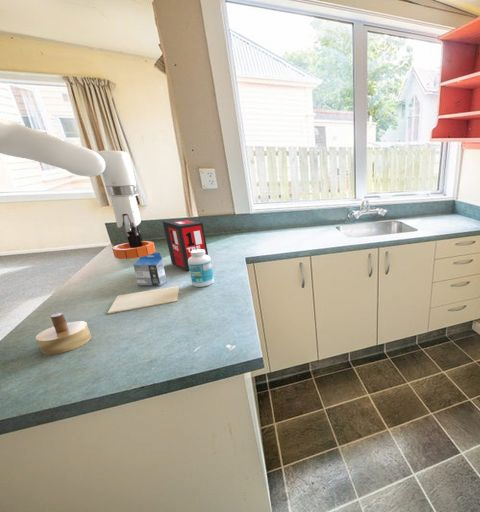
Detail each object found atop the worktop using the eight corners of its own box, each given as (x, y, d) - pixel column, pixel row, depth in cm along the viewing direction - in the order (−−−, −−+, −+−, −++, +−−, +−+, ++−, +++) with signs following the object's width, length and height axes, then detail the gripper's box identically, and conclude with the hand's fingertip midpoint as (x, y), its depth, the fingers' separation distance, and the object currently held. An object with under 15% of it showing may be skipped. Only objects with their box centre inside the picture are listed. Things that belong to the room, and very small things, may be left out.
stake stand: (33, 359, 71) (21, 328, 69) (50, 339, 79) (39, 311, 76) (85, 347, 76) (75, 318, 73) (95, 330, 83) (87, 303, 81)
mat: (107, 314, 92) (107, 312, 92) (118, 296, 103) (117, 295, 103) (176, 301, 101) (176, 300, 101) (179, 286, 112) (179, 285, 112)
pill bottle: (187, 285, 113) (180, 252, 109) (204, 279, 120) (198, 247, 116) (202, 288, 111) (196, 254, 107) (219, 281, 117) (213, 249, 113)
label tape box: (137, 285, 112) (129, 255, 109) (145, 281, 116) (138, 251, 113) (160, 286, 112) (153, 255, 109) (168, 282, 116) (161, 252, 113)
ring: (111, 260, 91) (108, 251, 90) (119, 251, 99) (117, 243, 98) (152, 255, 95) (150, 247, 94) (157, 247, 104) (155, 239, 103)
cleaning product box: (172, 264, 136) (162, 221, 130) (192, 259, 143) (184, 218, 137) (189, 271, 127) (179, 226, 121) (210, 266, 134) (202, 222, 128)
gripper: (113, 189, 99) (127, 242, 105) (100, 194, 86) (117, 254, 92) (141, 188, 103) (153, 239, 109) (132, 193, 90) (147, 250, 96)
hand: (137, 245), depth 100 cm, fingers closed on ring, 1 cm apart
